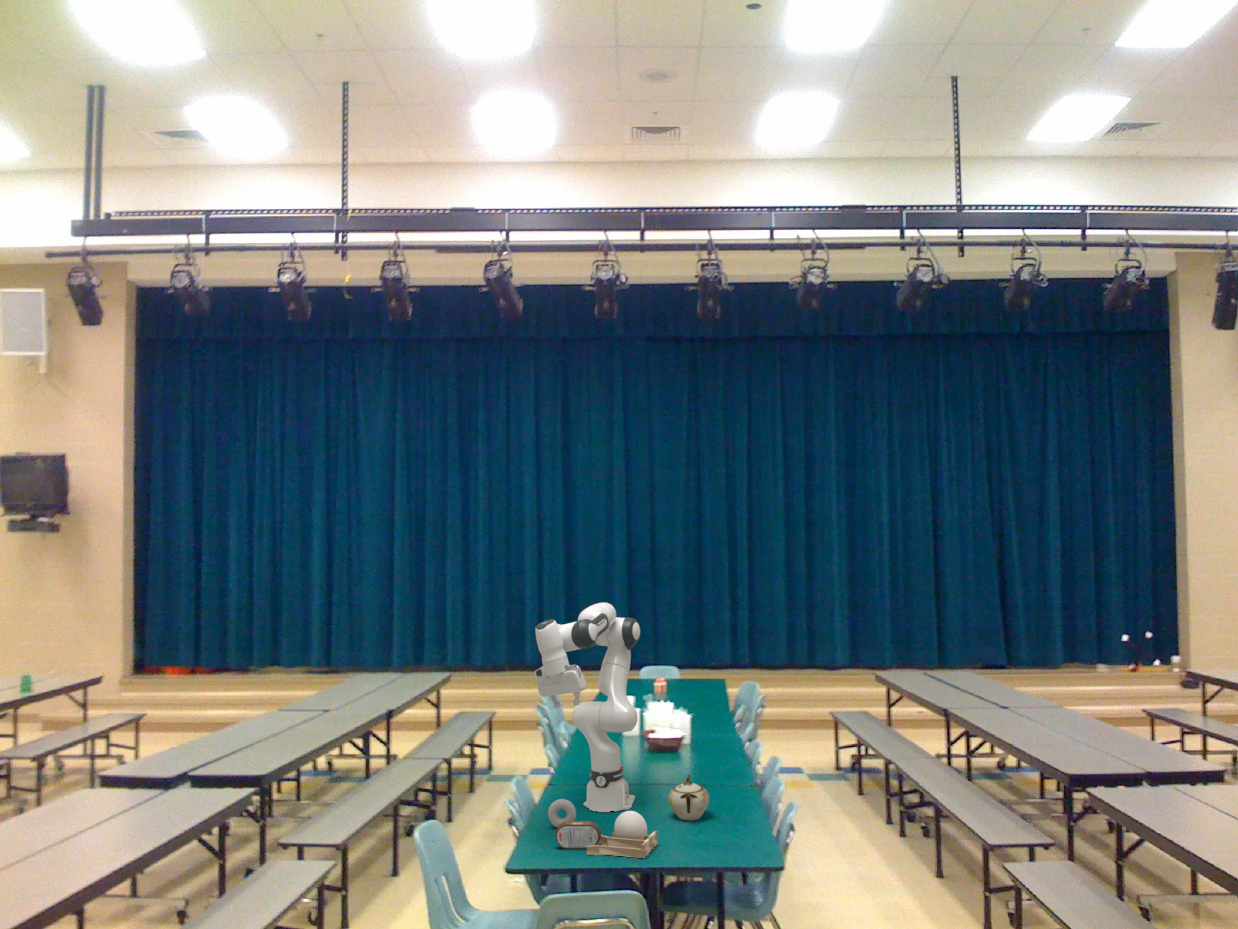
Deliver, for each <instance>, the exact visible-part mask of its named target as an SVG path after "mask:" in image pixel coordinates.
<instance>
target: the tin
mask: <svg viewBox="0 0 1238 929" xmlns="http://www.w3.org/2000/svg"><path fill="white" fill-rule="evenodd" d="M601 835H602V832H601V829H600V827H599V825H598V824H597V823H595V822H593V821H588V820H587V821H586V820H585V821H583V820H579V821H575V820H574V821H566V822H563V823H561V824H560V825H559V826H558V827H556V829H555V836H554V838H555V842H556V843H557V845H558V846H559V847H560V848H563V849H566V850H572V849H573V850H574V849H575V850H587V846H591V845H599V844H598V843H599V841H600V838H601Z"/></svg>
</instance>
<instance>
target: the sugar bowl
mask: <svg viewBox="0 0 1238 929" xmlns="http://www.w3.org/2000/svg"><path fill="white" fill-rule="evenodd" d="M690 778H691V775H690V774H687V776H686V779H685V780H684V781H683V782H682V783H680V784H677V785H675V786H673V788H672V789H671V790H670V791H669V793H668V796H667V799H668V800H667V801H668V805H669V806H670V808H671V809H672V811H673V812H674V813H675V814H676V816H677V817H678V818H679V820H683V821H695V820H699V819H700V818H701V817H702V816H703V814H705V813H704V812H705V811H706V810H707V808H708V806H709V804H710V797H711V796H710V794H709V792H708V791H707V789H705V787H704V786H703V785H701V784H697V783H696V782H695V783H694V782H692V781H691V780H690Z"/></svg>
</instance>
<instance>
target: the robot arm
mask: <svg viewBox="0 0 1238 929" xmlns="http://www.w3.org/2000/svg"><path fill="white" fill-rule="evenodd" d="M640 638H641V626H640V623H639V622H638V620H637V619H636V618H633V617H619V616H618V617H617V611H616V609H615V607H614V606H613V604H611V603H608V602H598V603H594V604H591V605H590V606H588V607H586V608H584V609H583V610H582V611H580V613H579V615H578V617H577V621H572V622H569V623H565V624H561V623H560V624H559V623H557V621H556V620H555V619H552V618H551V619H547V620H544V621H542V622H539V623H538V624H537V625H536V626H535V640H536V644H537V647H538V648H537V649H538V651H539V653H540V655H541V662H542V666H541V667H539V668H538V669H536V670H534V672H533V674H534V677H536V679H535V680H536V681H535V682H536V686H537V690H538V693H539V695H540V696H541V697H542V698H543V697H548V698H549V700H550V701H551V703H552V704H553V708H554V709H558V708H561V706H562V705H561V702H560V701H558V699H557V698H556V697H557V696H559V695H567V694H572V695H573V696H574V699H573V700H572V703H573V706H574V708H573V709H572V712H571V713H572V714H571V715H572V716H571V718H572V722H573V724H574V726H575V728H577V729H578V730H579V731H580V732H581V733H582V734H583V736H584V737H585V740H586V741H587V743H588V747H589V752H590V764H591V765H590V766H591V767H590V771H589V776H590V778H589V779H590V780H589V782H588V783H587V785H586V801H584V802H582V803H583V804H582V805H584V806H583V807H585V806H586V807H585V808H587V809H588V808H589V809H588V810H589V811H593V812H596V811H597V813H611V812H610V811H614V812H618V811H622V810H623V811H624V810H625V811H627V810H631V809H632V806H633V805H634V802H635V800H636V796H635V795H634V794H630V787H629V786H630V785H629V783H628V782H627V781H626V780H625V779H624V774H623V772H624V770H625V768H624V767H625V766H623V765H621V749H620V746H619V744H617V743H616V742H615V741H613V740H612V739H611V738H610V737H609V736H608V734H607V732H608V733H618V734H619V733H620V734H621V733H626V732H627V733H628V732H632V731H633V730H634V729H635V727H636V726H637V724H638V717H639V716H638V712H637V710H636V708H635V706H634V705H632V704H631V702H630V701H629V699H628V696H627V686H628V679H629V674H630V668H631V658H632V653H631V652H632V651H631V650H632V649H633V648H634V647H635V645H636V644H637V643H638V641H639V640H640ZM594 646H596V647H600V646H601V647H603V646H604V647H607V650H606V652H605V654H604V658H603V660H602V662H601V667H600V670H599V671H600V672H599V676H598V681H597V687H598V689H599V691H600V692H601V693H602V694H603V695H605V696H606V697H607V699H606V701H597V700H596V701H593V700H587V701H582V702H581V701H580V697H581V692H583V691H585V690H586V689H587V686H588V684H587V681H586V679H585V677H584V674H583V672H582V670H581V667H580V666H578V665H577V664H570V662H569V659H568V654H567V652H573V651H576V650H582V649H583V650H584V649H590V648H592V647H594ZM632 804H633V805H632ZM630 808H631V809H630Z"/></svg>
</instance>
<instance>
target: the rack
mask: <svg viewBox="0 0 1238 929" xmlns="http://www.w3.org/2000/svg"><path fill="white" fill-rule="evenodd" d="M658 837H659V836H658V830H653V832H651V833H650V834H647V835H646V837H645V839H644V840H640V839H628V838H617V836H616V834H615V831H613V832H612V836H607V835H604V834H601V838H600V841H599V843H598V844H597V845H591V846H587V849H586V855H594V856H604V855H613V856H612V857H615V856H626V857H636V858H635V859H637V857H638V858H645V857H646V856H647V855H648V853H649V852H651V850H652V849H653V850H654V849H655V848H656V847H657V846H658V845H657V844H659V843H658V841H659V840H658ZM600 844H601V845H600ZM607 845H608V846H607ZM656 845H657V846H656ZM655 846H656V847H655ZM654 847H655V848H654ZM653 850H652V851H653ZM651 853H652V852H651ZM648 856H649V855H648ZM648 856H647V857H648ZM626 857H625V858H626ZM647 857H646V858H647ZM646 858H645V859H646Z"/></svg>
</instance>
